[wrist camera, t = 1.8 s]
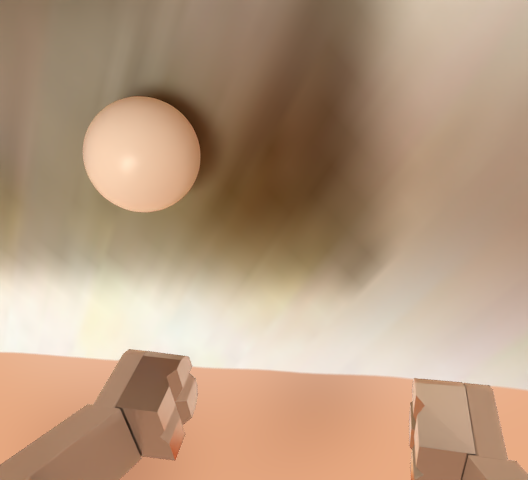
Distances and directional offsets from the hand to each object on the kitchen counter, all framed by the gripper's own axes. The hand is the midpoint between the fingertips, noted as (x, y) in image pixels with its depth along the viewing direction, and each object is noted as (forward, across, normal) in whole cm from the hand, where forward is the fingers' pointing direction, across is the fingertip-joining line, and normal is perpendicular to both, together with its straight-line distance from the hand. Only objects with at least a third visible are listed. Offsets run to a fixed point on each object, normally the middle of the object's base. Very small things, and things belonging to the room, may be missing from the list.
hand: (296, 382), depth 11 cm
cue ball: (+12, +10, 0) cm, 16 cm away
